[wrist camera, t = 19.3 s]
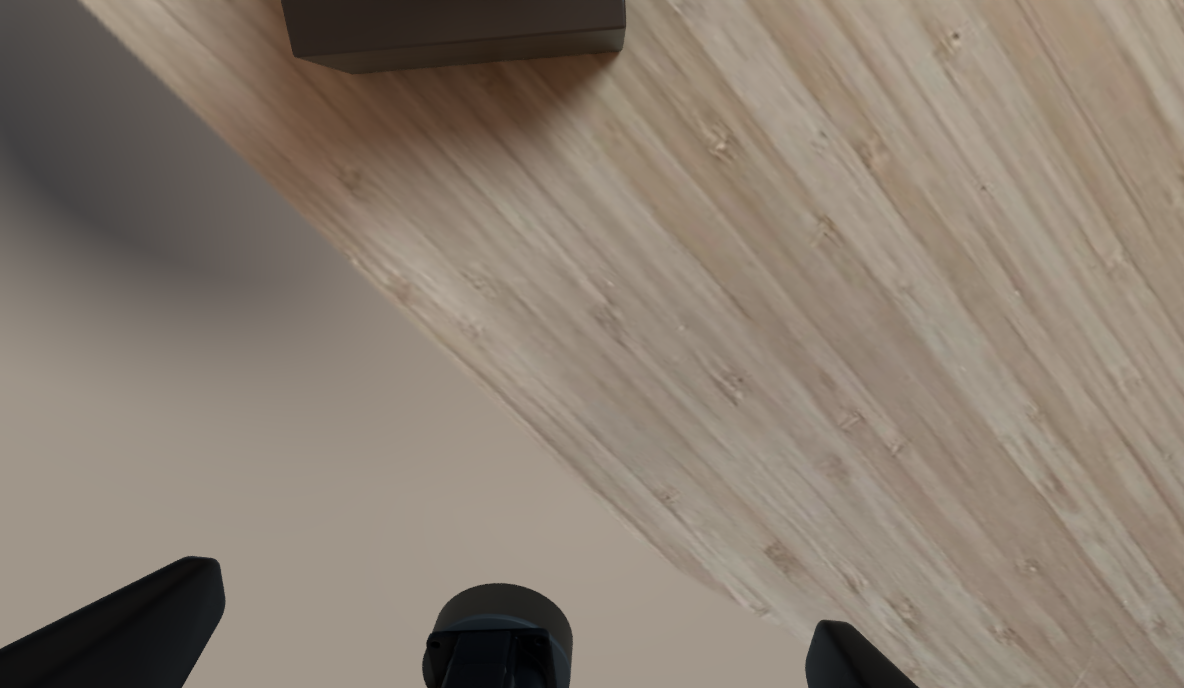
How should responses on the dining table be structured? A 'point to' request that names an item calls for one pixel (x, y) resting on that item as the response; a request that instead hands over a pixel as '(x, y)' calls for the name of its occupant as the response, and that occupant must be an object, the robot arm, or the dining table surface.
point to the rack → (448, 31)
